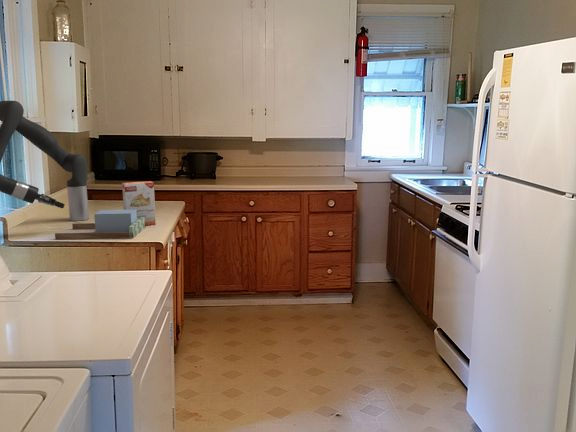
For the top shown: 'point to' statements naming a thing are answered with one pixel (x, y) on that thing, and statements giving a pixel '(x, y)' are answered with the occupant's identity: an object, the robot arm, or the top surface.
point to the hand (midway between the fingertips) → (63, 206)
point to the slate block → (114, 220)
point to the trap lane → (133, 231)
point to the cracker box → (140, 200)
